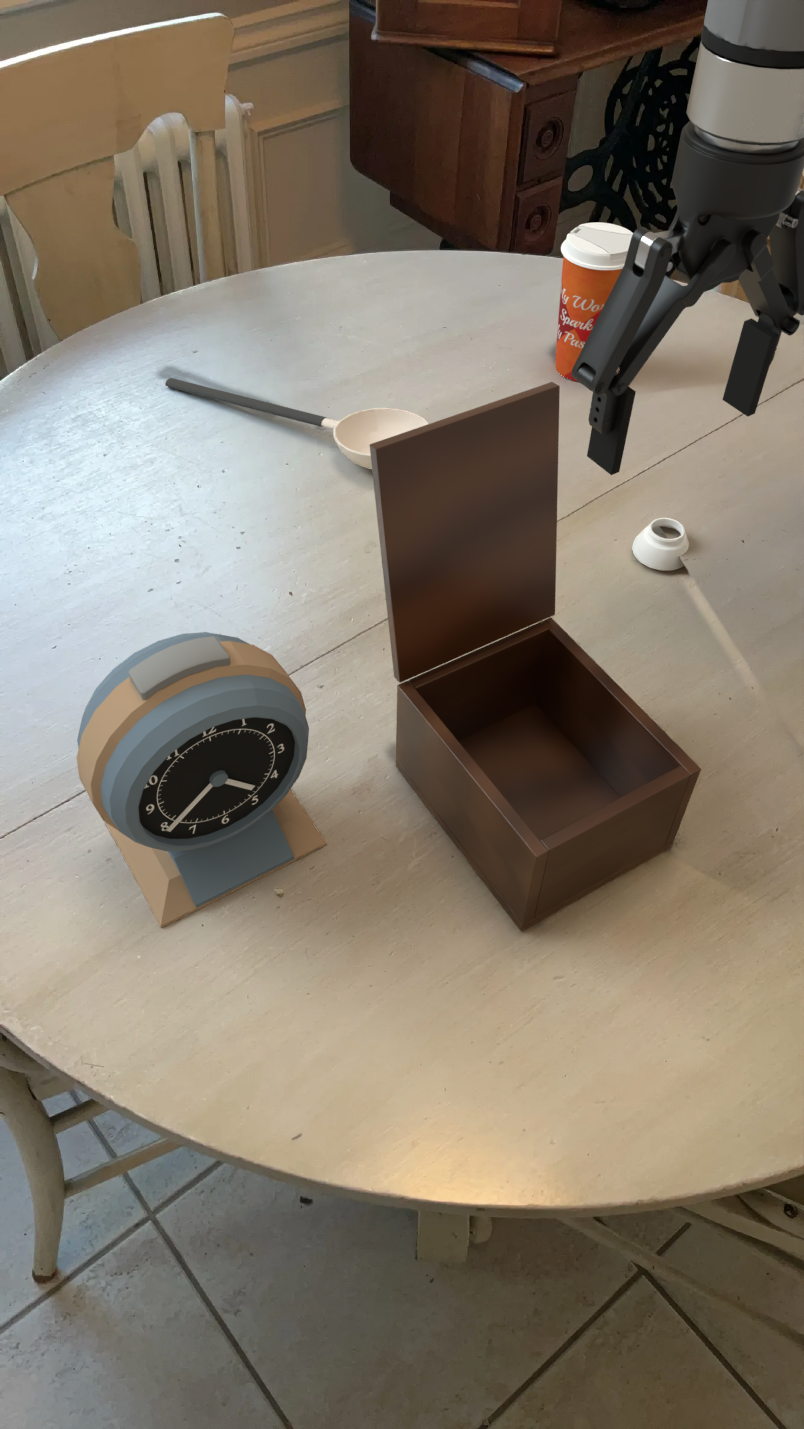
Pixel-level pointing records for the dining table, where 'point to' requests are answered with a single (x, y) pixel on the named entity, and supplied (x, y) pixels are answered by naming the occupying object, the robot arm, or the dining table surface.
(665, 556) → the lidless jar
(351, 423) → the ladle
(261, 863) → the alarm clock
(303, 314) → the dining table surface
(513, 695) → the keepsake box
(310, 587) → the dining table surface
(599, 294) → the paper cup
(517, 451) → the box lid
